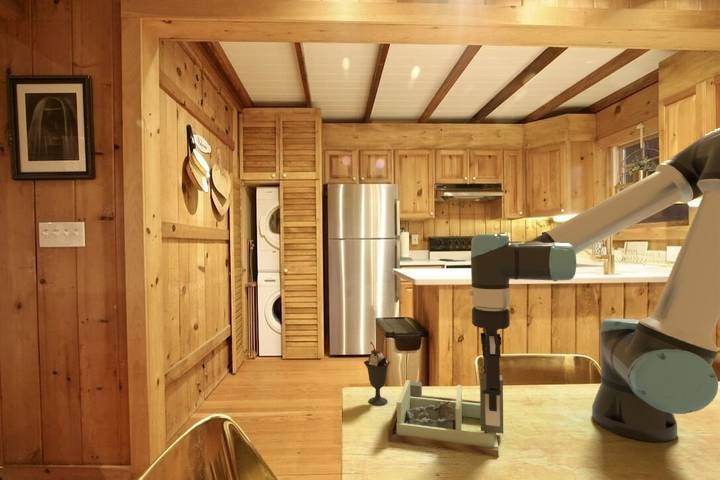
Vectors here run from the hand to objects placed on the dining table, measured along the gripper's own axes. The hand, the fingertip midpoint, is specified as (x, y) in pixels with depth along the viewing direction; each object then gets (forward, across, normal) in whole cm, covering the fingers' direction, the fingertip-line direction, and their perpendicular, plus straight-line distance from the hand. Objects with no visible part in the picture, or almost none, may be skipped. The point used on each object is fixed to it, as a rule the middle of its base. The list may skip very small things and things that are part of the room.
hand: (491, 415), depth 79 cm
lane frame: (+4, -3, -10) cm, 11 cm away
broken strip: (+4, -10, -12) cm, 16 cm away
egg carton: (+4, 0, -13) cm, 13 cm away
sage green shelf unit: (+4, 0, -8) cm, 9 cm away
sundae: (+4, -9, -27) cm, 29 cm away
